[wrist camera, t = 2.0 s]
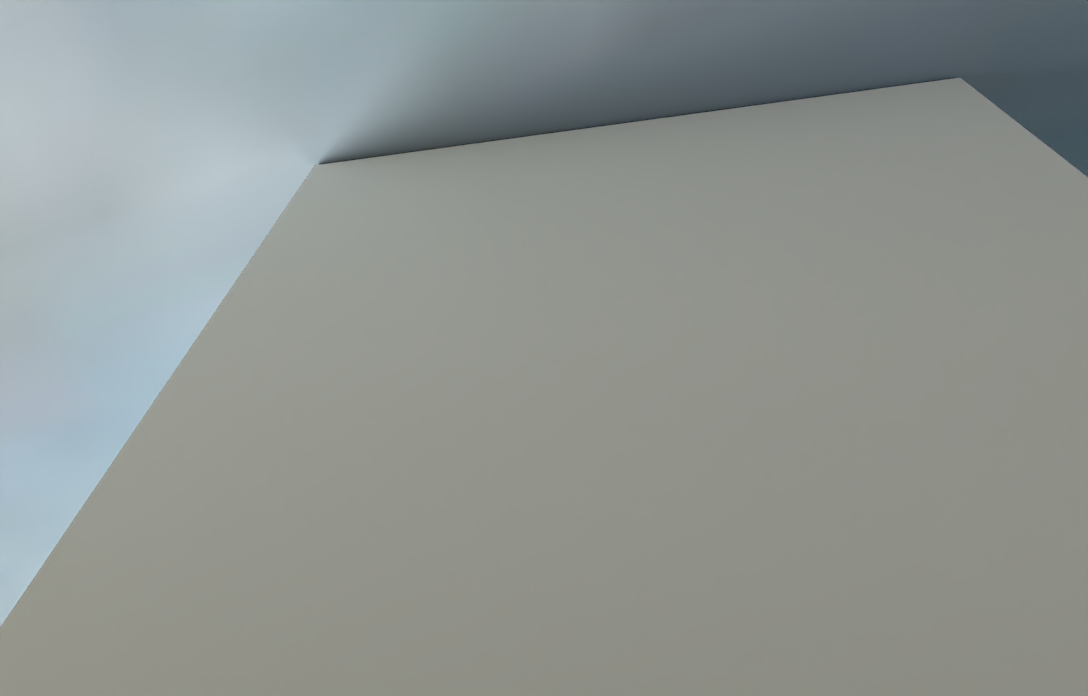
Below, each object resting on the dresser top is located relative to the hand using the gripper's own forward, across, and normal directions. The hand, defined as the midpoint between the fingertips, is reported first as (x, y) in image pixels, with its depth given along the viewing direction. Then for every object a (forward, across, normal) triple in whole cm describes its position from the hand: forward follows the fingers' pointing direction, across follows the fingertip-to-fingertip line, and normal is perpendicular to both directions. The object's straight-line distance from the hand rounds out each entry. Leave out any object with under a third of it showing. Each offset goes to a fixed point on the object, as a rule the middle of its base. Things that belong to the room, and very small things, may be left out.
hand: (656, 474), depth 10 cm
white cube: (+2, 0, 0) cm, 2 cm away
